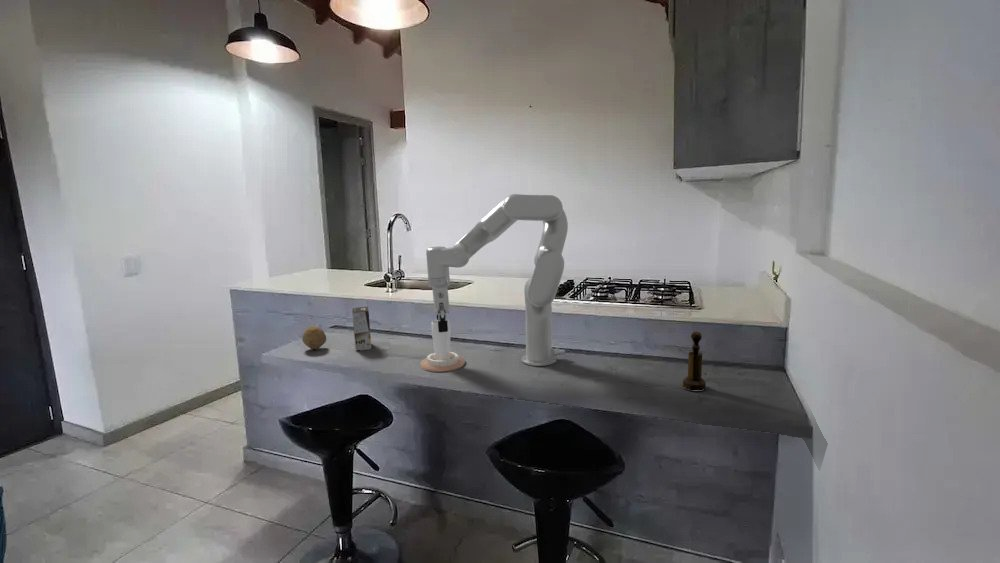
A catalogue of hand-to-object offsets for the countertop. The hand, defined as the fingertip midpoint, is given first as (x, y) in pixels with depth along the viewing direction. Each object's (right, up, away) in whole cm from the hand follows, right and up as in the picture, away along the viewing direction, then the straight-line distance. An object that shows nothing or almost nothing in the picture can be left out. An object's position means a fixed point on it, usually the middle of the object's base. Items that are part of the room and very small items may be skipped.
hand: (442, 328), depth 174 cm
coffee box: (-36, -10, +25) cm, 45 cm away
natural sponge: (-55, -11, +24) cm, 61 cm away
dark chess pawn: (+81, -16, -25) cm, 86 cm away
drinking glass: (0, -13, +3) cm, 13 cm away
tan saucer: (0, -13, +2) cm, 14 cm away
